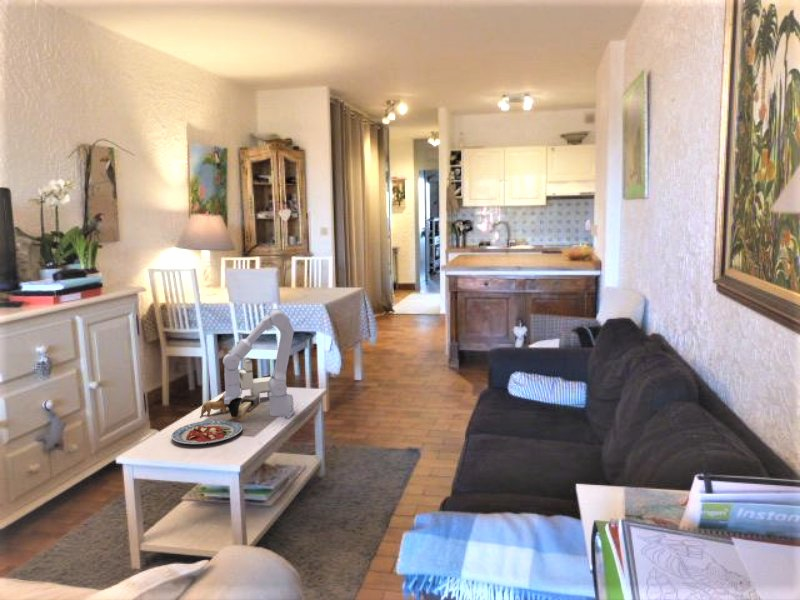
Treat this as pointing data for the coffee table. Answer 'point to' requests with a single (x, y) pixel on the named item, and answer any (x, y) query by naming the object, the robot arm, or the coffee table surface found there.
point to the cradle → (255, 406)
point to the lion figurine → (214, 406)
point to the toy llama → (252, 380)
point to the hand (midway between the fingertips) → (234, 416)
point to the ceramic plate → (206, 432)
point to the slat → (244, 408)
